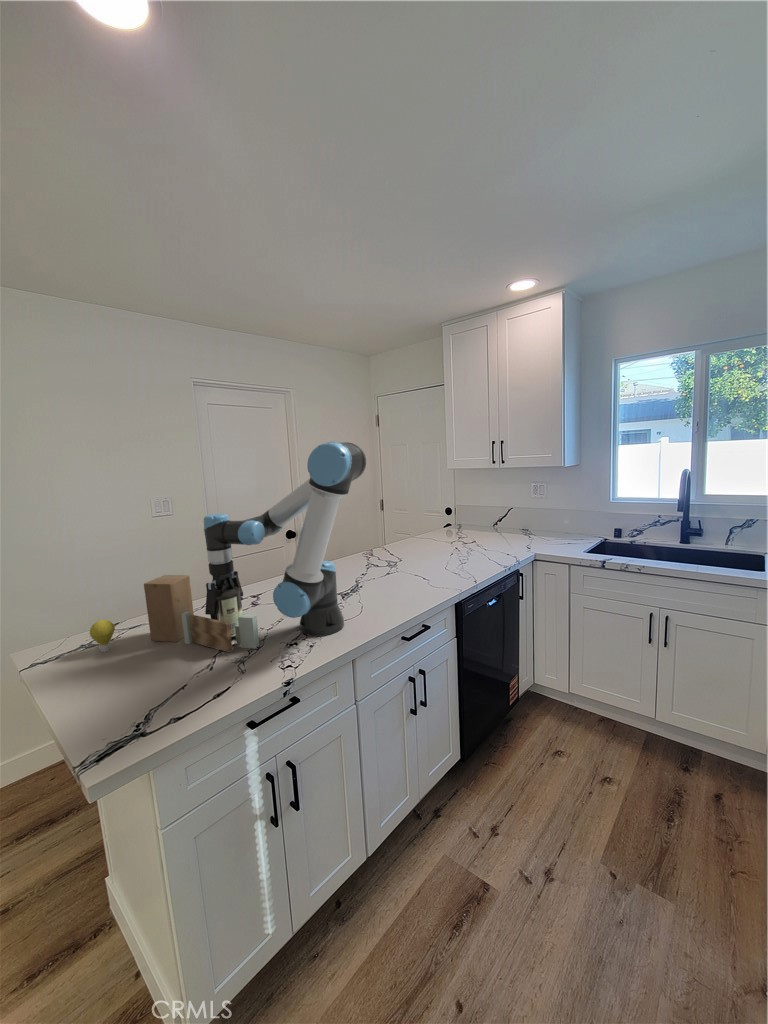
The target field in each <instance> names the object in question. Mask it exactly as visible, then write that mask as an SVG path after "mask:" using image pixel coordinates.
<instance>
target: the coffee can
mask: <svg viewBox="0 0 768 1024" xmlns="http://www.w3.org/2000/svg"><path fill="white" fill-rule="evenodd" d="M217 590H218V589H217ZM240 592H241V590H240V588H238V587H235V588H234V589H225V590H224V593H222V596H220V597H215V601H217V600H218V601H219V611H218V613H220V616H221V621H224V622H228V623H230V632H231V638H234V637H236V633H235V626H236V625H237V626H239V623H238V617H239V616H240V615H242V614H244V613H243V612H244V611H243V605H242V600H241V597H242V596H241V594H240ZM209 616H210V617H211V615H209Z"/></svg>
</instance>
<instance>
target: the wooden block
mask: <svg viewBox="0 0 768 1024" xmlns="http://www.w3.org/2000/svg"><path fill="white" fill-rule="evenodd" d="M191 587H192V586H191V579H190V575H189V574H163V575H161V576H159V577H156V578H154V579H152V580H149V581H147V582H144V583H143V589H144V597H145V603H146V611H147V617H148V618H147V619H148V625H149V634H150V640H151V641H152V642H171V643H178V642H179V641H181V640H182V639H184V632H183V623H182V615H181V614H183V613H185V612H191V615H195V614H194V613H195V611H194V604H193V596H192V595H193V594H192V588H191Z"/></svg>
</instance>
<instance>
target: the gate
mask: <svg viewBox="0 0 768 1024" xmlns="http://www.w3.org/2000/svg"><path fill="white" fill-rule="evenodd" d="M189 619H190V627H191V635H192V643H194V644H197V645H201V646H206V647H209V648H213V649H216V650H220V651H224V652H227V653H231V652H232V651H233V644H232V641H233V640H232V637H231V632H230V623H228V622H224V621H219V620H214V619H211V617H210V618H208V617H204V616H200V615H196V614H194V615H189Z"/></svg>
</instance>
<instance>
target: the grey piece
mask: <svg viewBox="0 0 768 1024" xmlns="http://www.w3.org/2000/svg"><path fill="white" fill-rule="evenodd" d="M181 615H182V623H183V632H184V638H183V639H184V644H185V645H186V644H187V645H189V644H192V643H193V642H192V635H191V627H190V619H189V615H191V612H185V613H183V614H181ZM238 623H239V626H237V625H236V626H235V633H236V636H235V640H236V641H235V642H236V644H237V645H240V648H242V649H243V648H244V649H257V648H258V647H259V646H260V638H259V628H258V616H257V614H248V613H247V614H245V613H243V614H242V615H240V616H239V617H238Z"/></svg>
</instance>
